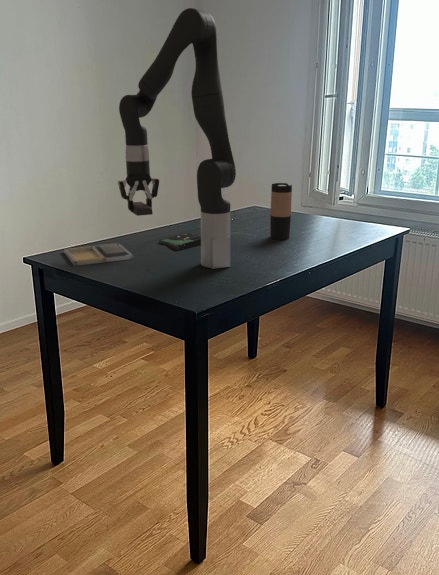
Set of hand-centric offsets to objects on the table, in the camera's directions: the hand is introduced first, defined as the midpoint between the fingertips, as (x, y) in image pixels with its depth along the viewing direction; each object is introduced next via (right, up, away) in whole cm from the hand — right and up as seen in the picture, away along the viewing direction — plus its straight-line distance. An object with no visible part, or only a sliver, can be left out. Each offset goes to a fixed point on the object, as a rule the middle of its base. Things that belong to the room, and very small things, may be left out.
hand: (140, 210), depth 195 cm
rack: (-13, -16, -3) cm, 21 cm away
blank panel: (-9, -15, -1) cm, 17 cm away
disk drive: (+14, -11, +15) cm, 23 cm away
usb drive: (0, -1, +1) cm, 1 cm away
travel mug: (+49, -7, +25) cm, 56 cm away
